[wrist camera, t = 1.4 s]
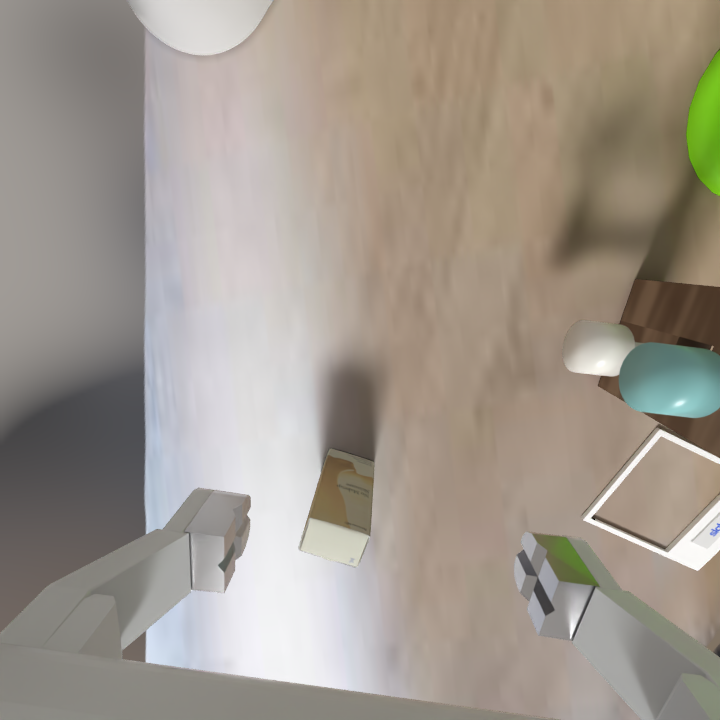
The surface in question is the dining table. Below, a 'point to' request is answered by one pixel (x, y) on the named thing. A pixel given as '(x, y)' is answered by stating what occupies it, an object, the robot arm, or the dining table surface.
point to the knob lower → (597, 347)
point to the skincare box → (341, 510)
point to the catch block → (675, 341)
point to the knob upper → (671, 380)
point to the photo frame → (697, 540)
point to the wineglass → (706, 127)
